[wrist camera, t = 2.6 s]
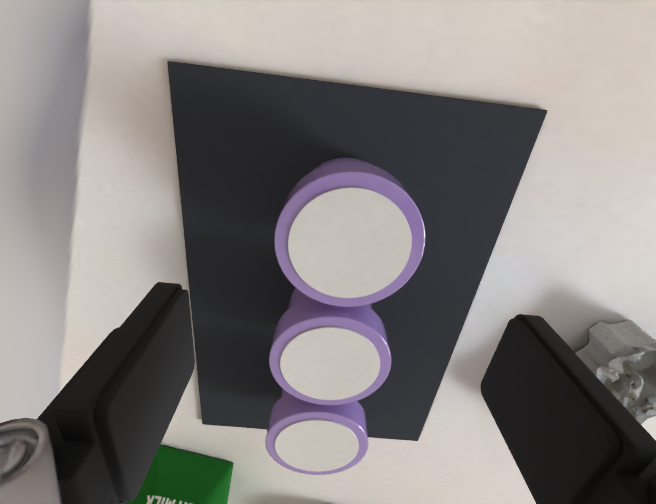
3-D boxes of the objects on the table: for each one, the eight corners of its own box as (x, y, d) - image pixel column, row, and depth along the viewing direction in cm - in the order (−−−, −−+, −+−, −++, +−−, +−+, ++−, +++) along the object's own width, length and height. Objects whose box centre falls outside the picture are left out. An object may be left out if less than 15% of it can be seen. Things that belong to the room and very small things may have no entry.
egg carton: (546, 428, 28) (578, 481, 24) (488, 389, 26) (514, 441, 22) (676, 356, 24) (738, 406, 20) (621, 302, 22) (679, 348, 18)
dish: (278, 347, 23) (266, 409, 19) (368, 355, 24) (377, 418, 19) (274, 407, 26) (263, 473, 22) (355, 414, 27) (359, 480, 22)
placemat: (169, 61, 15) (167, 61, 15) (544, 109, 16) (547, 110, 16) (203, 421, 28) (202, 424, 27) (417, 437, 28) (417, 441, 28)
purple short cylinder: (290, 140, 17) (277, 163, 12) (415, 155, 17) (444, 182, 13) (284, 251, 20) (271, 301, 15) (390, 262, 20) (407, 314, 16)
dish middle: (283, 260, 20) (270, 312, 16) (388, 271, 20) (404, 324, 16) (278, 340, 23) (266, 402, 19) (370, 349, 23) (379, 411, 19)
